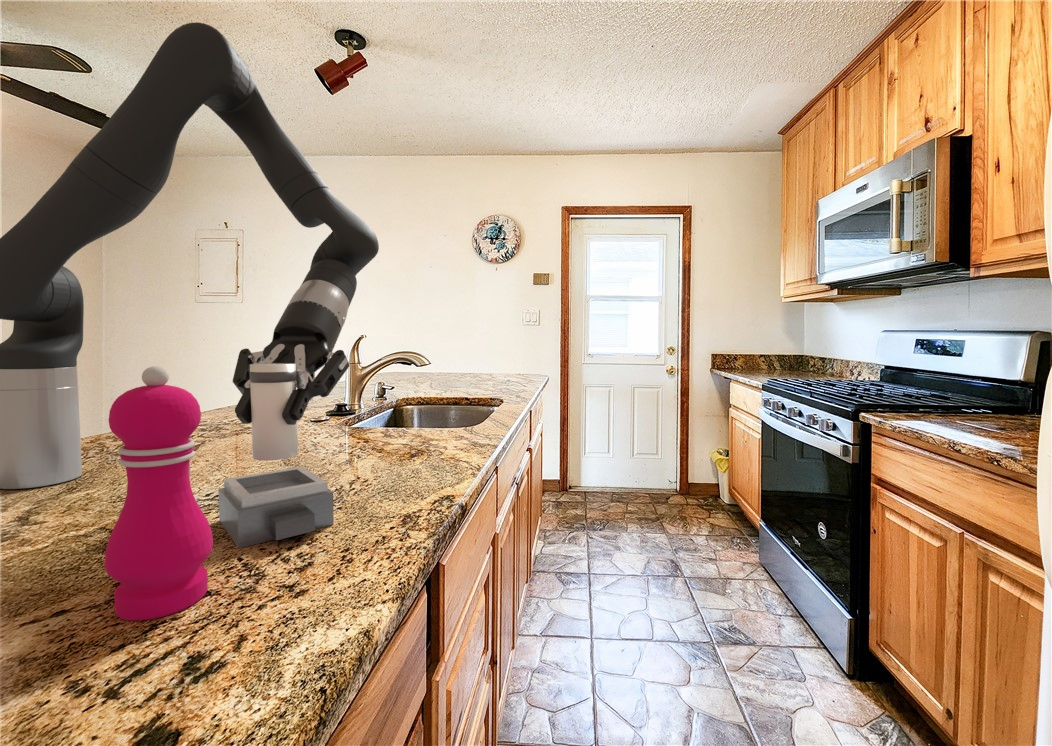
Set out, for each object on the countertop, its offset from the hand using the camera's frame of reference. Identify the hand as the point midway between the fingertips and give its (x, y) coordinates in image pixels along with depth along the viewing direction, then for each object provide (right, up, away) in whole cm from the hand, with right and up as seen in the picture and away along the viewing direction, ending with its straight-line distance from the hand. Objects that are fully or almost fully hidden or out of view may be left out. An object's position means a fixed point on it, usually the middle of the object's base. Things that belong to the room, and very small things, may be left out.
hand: (265, 419), depth 54 cm
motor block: (+1, -13, +2) cm, 13 cm away
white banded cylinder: (0, -4, +2) cm, 5 cm away
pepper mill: (-1, -14, -14) cm, 20 cm away
